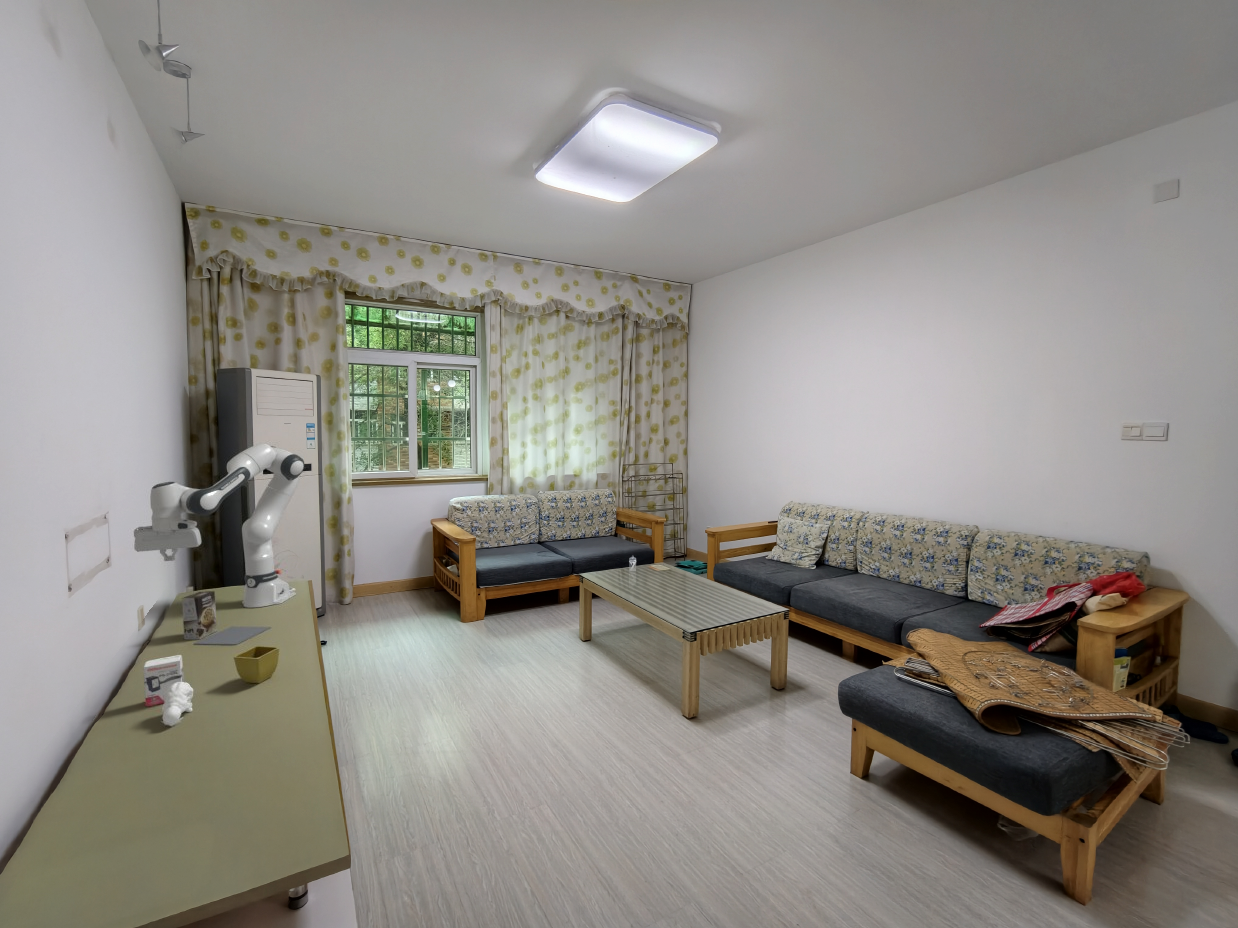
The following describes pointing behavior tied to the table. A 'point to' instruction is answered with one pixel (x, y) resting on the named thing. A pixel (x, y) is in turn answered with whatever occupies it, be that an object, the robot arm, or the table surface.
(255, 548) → the robot arm
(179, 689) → the white figurine
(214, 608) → the coffee box
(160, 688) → the ink box
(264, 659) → the flower pot
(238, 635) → the mat
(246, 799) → the table surface
